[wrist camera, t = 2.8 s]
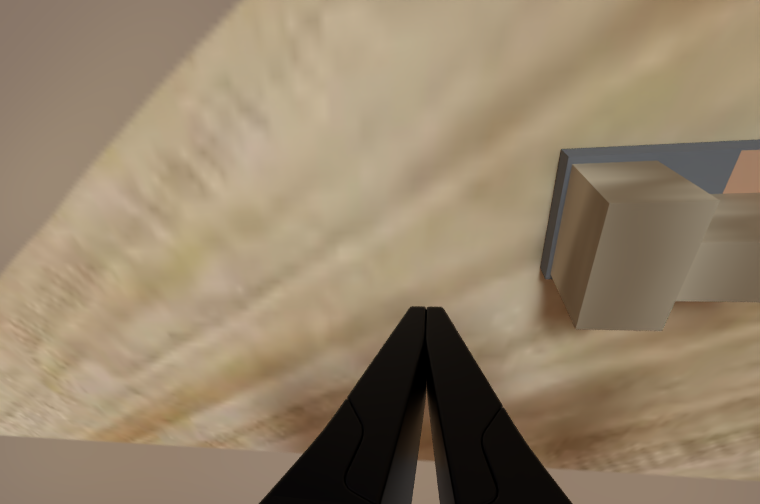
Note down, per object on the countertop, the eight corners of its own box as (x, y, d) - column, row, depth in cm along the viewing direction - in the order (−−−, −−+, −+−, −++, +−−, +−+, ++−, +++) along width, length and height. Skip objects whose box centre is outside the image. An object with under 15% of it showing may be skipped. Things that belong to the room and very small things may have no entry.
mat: (1036, 126, 10) (1078, 133, 10) (917, 266, 13) (944, 280, 12) (561, 149, 12) (568, 156, 12) (540, 267, 15) (545, 279, 14)
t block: (825, 153, 11) (944, 194, 8) (756, 274, 13) (833, 334, 11) (571, 164, 12) (609, 203, 9) (550, 274, 14) (575, 329, 12)
